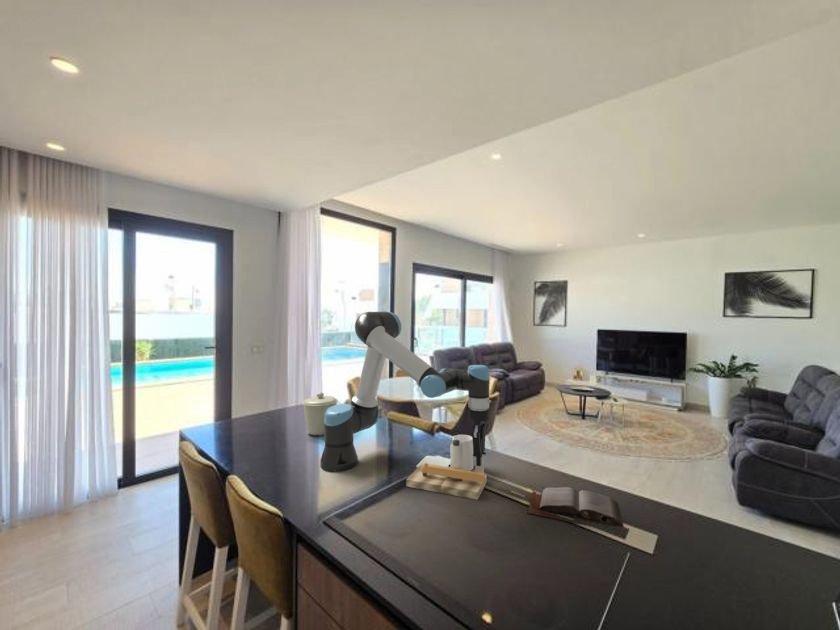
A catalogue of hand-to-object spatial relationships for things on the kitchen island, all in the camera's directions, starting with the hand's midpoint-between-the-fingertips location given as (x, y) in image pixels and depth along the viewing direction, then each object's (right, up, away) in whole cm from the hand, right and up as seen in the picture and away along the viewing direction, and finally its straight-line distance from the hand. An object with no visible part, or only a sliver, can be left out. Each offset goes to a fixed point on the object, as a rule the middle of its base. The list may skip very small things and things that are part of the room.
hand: (479, 473), depth 133 cm
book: (+28, -5, -16) cm, 33 cm away
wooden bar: (-10, 0, -2) cm, 10 cm away
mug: (-5, -4, +13) cm, 15 cm away
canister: (-74, -4, +60) cm, 95 cm away
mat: (-15, -4, +18) cm, 24 cm away
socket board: (-12, -4, 0) cm, 12 cm away
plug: (-8, -4, +1) cm, 9 cm away
